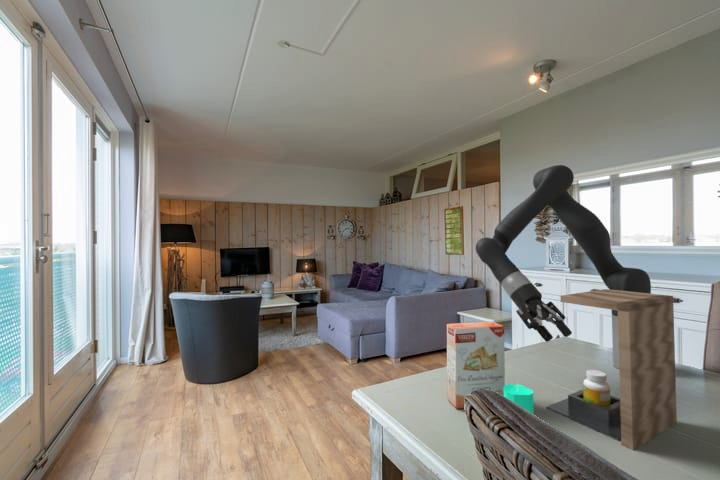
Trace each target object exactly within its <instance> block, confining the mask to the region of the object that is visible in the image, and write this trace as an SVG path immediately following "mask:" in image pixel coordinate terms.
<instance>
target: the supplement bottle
mask: <svg viewBox="0 0 720 480" xmlns="http://www.w3.org/2000/svg"><path fill="white" fill-rule="evenodd" d="M582 383H583V385H582V386H583V389H582V390H583V395H584V399H585V400H587V401H590V402H592V403H595V404H598V405H600V406H603V407H607V406H610V395H611V386H610V384H609V383H608V382H607V374H606V373H605V372H603V371H601V370H597V369H587V370H586V378H585V379H584V380H583V382H582Z"/></svg>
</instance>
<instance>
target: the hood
mask: <svg viewBox="0 0 720 480" xmlns="http://www.w3.org/2000/svg"><path fill="white" fill-rule="evenodd" d="M559 297H560V302H561V303H564V304H565V303H566V304H573V305H578V306H586V307H592V308H599V309H606V310H611V311H612V310H618V339H619V368H618V369H619V370H618V371H619V373H618V375H619V398H620V412H621V440H620V441H621V442H620V443H621V444H620V445H621V446H623V447H626V448H628V449H630V450H631V451H634V450H635V449H637V448H638V447H641V445H644V444H645V443H647V442H649V441H650V440H652V439H654V438H655V437H657V436H659V435H660V434H662V433H664V432H666V431H667V430H668V429H670V428H672V427H673V426H676V425H677V423H678V419H677V418H678V417H677V414H678V413H677V385H676V383H677V380H676V354H675V353H676V350H675V348H676V347H675V344H676V343H675V319H674V317H675V315H674V311H675V310H674V295H667V294H666V295H665V294H659V293H658V294H657V293H651V294H649V293H639V292H629V291H620V290H610V289H609V288H608V289H607V288H604V289H598V290H591V291H584V292H577V293H570V294H564V295H560V296H559Z"/></svg>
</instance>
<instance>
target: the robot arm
mask: <svg viewBox="0 0 720 480" xmlns="http://www.w3.org/2000/svg"><path fill="white" fill-rule="evenodd" d="M574 176H575V175H574V171H572V169H571V168H570V167H569V166H566V165H563V164H557V165H552V166H549V167H545V168H543V169H541V170H539V171H537V172H536V173H535V175H533V181H532V184H533V187H534V191H533V193H531V194H530V195H529V196H528V197H527V198H526V199H524V201H522V202H521V203H519V204H518V205H516V206H515V207H514V208H513V209H512V210H510V211H509V212H508V213H507V215H506V216H505V217H504V218H503V219H501V221H500V222H499V223H498V224H497V226H496V227H495V229H494V230H493V231H494V233H493V236H492V237H482V238H479V240H478V241H477V242H476V244H475V252H476V254H477V257H478V258H479V259H480V261H481V262H482V263H484V264H485V265H486V266H488V268H489V269H490V270H491V273H492V274H493V276H494V277H495V279H496V280H497V281H498V283H499V284H500V285H501V287H502V288H503V290H504V292H505V293H506V294H507V296H508V297H509V298H510V299H511V300H512V302H513V303H514V304H515V305H516V308H517V310H516V311H515V312H516V314H517V315H518V316H519V318H520V319H521V321H522V322H523V323H524V325H525V326H526V327H527V329H528V330H531V329H533V330H534V331H536V332H537V333H538V334H539V336H541V338H542V339H543V340H544V341H545V342H546V343H547V342H550V341H552V339H553V335H552V334H551V333H550V331H549V330H548V329H547V328H546V326H545V325H543V321H545V322H547V323H552V324H553V325H555V326H556V328H557V329H558V330H559V332H560V333H561V334H562V336H564V337H565V338H567V337H569V336H571V335H573V331H572V330H571V329H570V328H569V326H567V324H565V321H564V320H565V319H566V318H567V317H566V316H565V314H563V312H562V311H561V310H560V309H559V308H558V307H557V306H556V305H555V304H554V303H553V302H552V301H548V302H547V303H545V302H544V301H543V300H542V298H543V295H542V293H541V292H540V291H539V289H538V288H536V286H535V285H534V284H533V283H532V282H531V280H530V279H529V278H528V277H527V276H526V275H525V274H524V273H522V271H521V270H520V269H519V267H517V266H516V264H515V263H513V261H512V260H511V259H510V258H509V257H508V256H507V252H508V250H509V248H510V247H511V245H512V243H513V242H514V240H515V239H516V238H518V236H519V235H521V233H522V232H523V231H524V230H525V228H526V227H528V225H529V224H531V223H532V221H533V220H534V219H535V218H536V217H537V216H539V215H540V214H541V212H542V211H543V210H545V209H546V208H547V207H548V206H549V207H550V208H551V209H552V210H553V211H554V213H555V214H556V215H557V217H558V218H559V219H560V221H561V223H563V224H564V226H565V227H566V229H567V230H568V232H569V234H570V235H571V236H572V238H573V239H574V240H575V241H576V242H577V245H578V246H580V247H581V249H582V250H583V252H584V253H585V255H586V256H587V257H588V259H589V260H590V261H591V263H592V264H593V265H594V267H595V268H596V269H595V270H596V271H597V273H598V274H599V276H600V277H601V278H600V279H602V281H603V283H604V285H605V286H606V288H608V289H610V290H620V291H629V292H639V293H649V294H652V284H651V278H650V275H649V274H648V273H647V272H646V271H645V270H644V269H641V268H635V267H625V266H623V265H622V264H621V263H620V262H619V261H618V260H617V258H616V257H615V256H614V254H613V252H612V250H611V249H612V248H611V246H612V245H611V244H612V243H611V235H610V233H609V232H610V231H608V229H607V227H606V226H605V225H604V223H603V222H602V221H601V220H600V218H599V217H598V216H597V214H595V213H593V212H592V210H590V209H588V208H587V207H586V206H584V205H582V204H581V203H579V202H578V201H577V200H575V199H574V198H573V197H572V196H571V194H570V193H569V192H568V190H569V189H570V187H571V186H572V185H573V182H574V178H575V177H574ZM528 320H529V321H528ZM611 335H612V365H613V367H614V368H617V369H619V339H618V310H611Z"/></svg>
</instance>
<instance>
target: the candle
mask: <svg viewBox="0 0 720 480" xmlns="http://www.w3.org/2000/svg"><path fill="white" fill-rule="evenodd" d="M504 397H506V398H507V399H509V400H511V401H513V402H515V403H516V404H518V405H519V406H521V407H522V408H524V409H526V410H527V411H529V412H530V413H532V414H534V413H535V412H534V411H535V410H534V390H533V389H530V388H528V387H526V386H525V385H523V384H512V383H507V384H505V386H504ZM534 415H535V414H534Z"/></svg>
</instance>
